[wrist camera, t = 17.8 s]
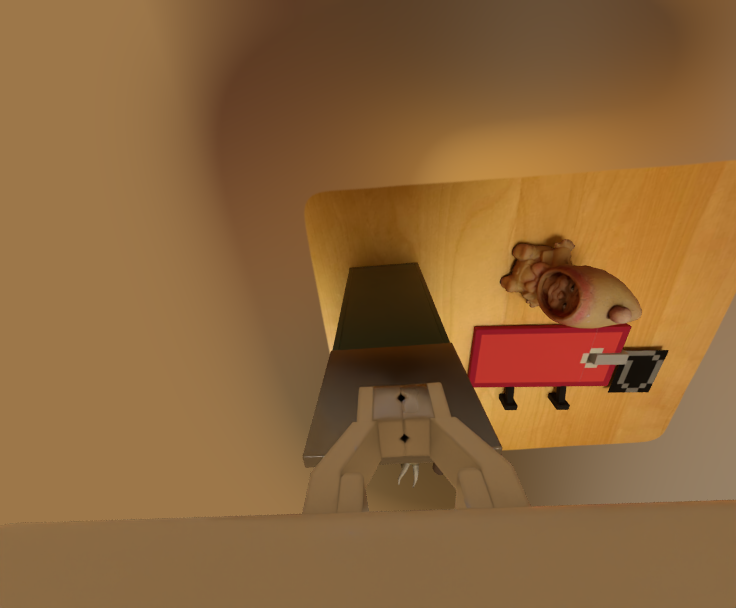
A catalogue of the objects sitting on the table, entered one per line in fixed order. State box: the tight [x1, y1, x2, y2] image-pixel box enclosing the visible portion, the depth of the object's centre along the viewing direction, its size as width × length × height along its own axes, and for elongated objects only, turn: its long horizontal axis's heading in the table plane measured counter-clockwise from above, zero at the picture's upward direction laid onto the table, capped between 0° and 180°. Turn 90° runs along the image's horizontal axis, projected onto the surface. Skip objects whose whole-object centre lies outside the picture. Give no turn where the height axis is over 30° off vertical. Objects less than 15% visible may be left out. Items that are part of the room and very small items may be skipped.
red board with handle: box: [468, 323, 669, 410], centre depth 47 cm, size 30×3×15 cm
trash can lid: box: [303, 343, 502, 468], centre depth 19 cm, size 10×10×1 cm
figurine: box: [500, 239, 642, 328], centre depth 35 cm, size 10×8×15 cm
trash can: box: [333, 263, 450, 351], centre depth 34 cm, size 10×10×20 cm
